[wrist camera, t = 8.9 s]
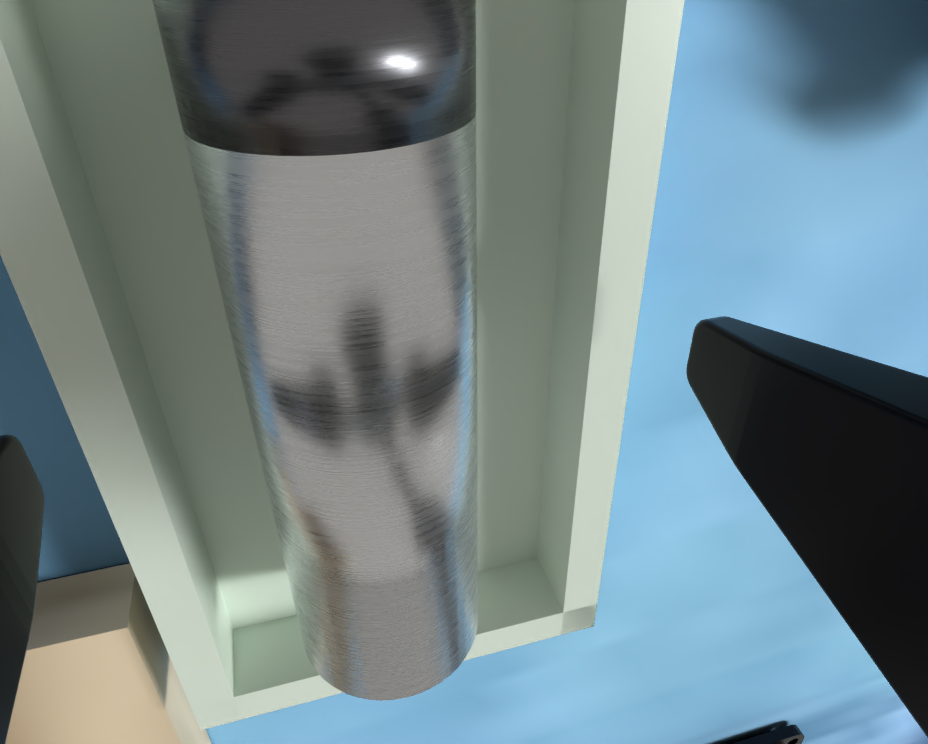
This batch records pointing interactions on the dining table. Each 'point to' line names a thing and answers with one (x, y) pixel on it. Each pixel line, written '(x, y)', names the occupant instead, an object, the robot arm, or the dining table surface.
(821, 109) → the dining table surface
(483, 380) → the tray
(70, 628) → the bracket
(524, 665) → the dining table surface
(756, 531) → the dining table surface
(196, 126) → the pin
